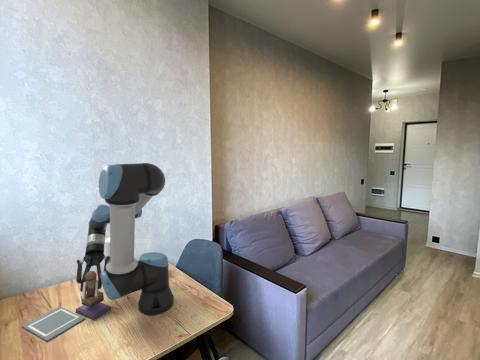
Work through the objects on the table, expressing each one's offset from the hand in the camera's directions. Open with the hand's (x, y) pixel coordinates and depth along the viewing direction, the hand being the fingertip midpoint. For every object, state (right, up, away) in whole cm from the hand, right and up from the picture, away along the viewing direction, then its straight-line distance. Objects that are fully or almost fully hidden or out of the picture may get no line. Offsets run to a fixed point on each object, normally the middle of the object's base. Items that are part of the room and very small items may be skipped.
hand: (90, 297), depth 107 cm
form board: (-13, -9, -3) cm, 16 cm away
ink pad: (-1, -8, +4) cm, 9 cm away
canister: (-6, -4, +40) cm, 41 cm away
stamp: (-1, -4, +4) cm, 6 cm away
